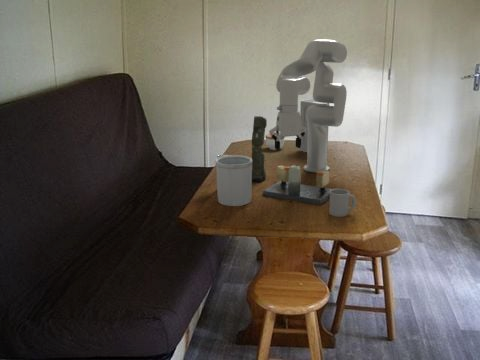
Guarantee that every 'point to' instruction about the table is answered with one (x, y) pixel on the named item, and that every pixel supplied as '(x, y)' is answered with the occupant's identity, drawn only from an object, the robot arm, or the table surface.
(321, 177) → the knob
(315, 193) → the level plate
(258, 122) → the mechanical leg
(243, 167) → the utensil holder
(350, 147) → the table surface
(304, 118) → the white upright slab
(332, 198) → the cup
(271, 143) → the lidded jar
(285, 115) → the robot arm
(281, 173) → the knob
